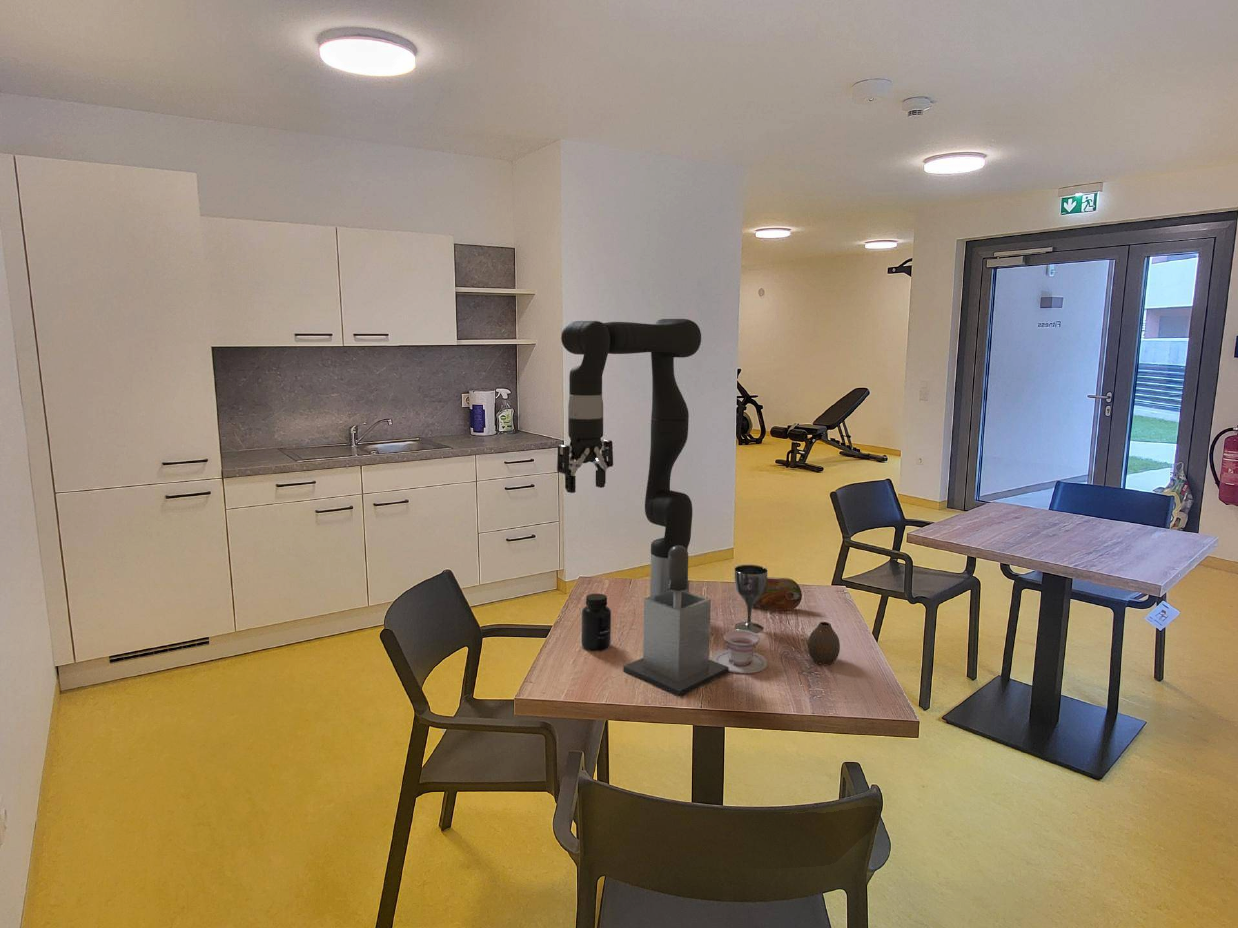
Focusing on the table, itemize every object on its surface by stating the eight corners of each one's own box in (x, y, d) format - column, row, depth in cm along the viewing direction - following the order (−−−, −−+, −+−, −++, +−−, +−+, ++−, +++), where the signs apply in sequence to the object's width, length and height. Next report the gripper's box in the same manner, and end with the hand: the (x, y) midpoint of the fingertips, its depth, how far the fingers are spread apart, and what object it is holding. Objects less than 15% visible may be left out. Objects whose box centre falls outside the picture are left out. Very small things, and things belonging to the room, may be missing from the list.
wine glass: (729, 630, 185) (731, 572, 182) (736, 619, 192) (738, 563, 190) (761, 635, 182) (763, 576, 179) (767, 624, 189) (770, 566, 187)
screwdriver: (674, 647, 167) (676, 538, 163) (701, 658, 162) (704, 545, 157) (650, 657, 162) (652, 545, 157) (677, 669, 156) (680, 553, 152)
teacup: (762, 678, 160) (763, 651, 159) (706, 669, 164) (707, 642, 163) (771, 656, 171) (772, 630, 170) (719, 648, 175) (720, 623, 174)
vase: (839, 656, 170) (842, 620, 169) (838, 669, 164) (840, 631, 162) (808, 652, 173) (810, 616, 171) (805, 664, 166) (807, 627, 165)
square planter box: (672, 650, 173) (674, 581, 171) (728, 672, 162) (730, 599, 159) (623, 671, 162) (623, 598, 159) (679, 696, 151) (681, 618, 148)
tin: (743, 607, 201) (744, 577, 200) (744, 603, 204) (745, 573, 203) (801, 612, 198) (802, 581, 196) (801, 608, 201) (802, 577, 199)
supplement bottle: (607, 653, 172) (607, 602, 170) (578, 650, 173) (578, 600, 171) (613, 641, 178) (613, 592, 176) (585, 638, 180) (585, 590, 177)
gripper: (572, 419, 154) (572, 497, 157) (621, 414, 164) (621, 487, 167) (548, 416, 159) (549, 491, 162) (598, 412, 169) (598, 483, 172)
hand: (585, 489), depth 164 cm, fingers open, 8 cm apart
